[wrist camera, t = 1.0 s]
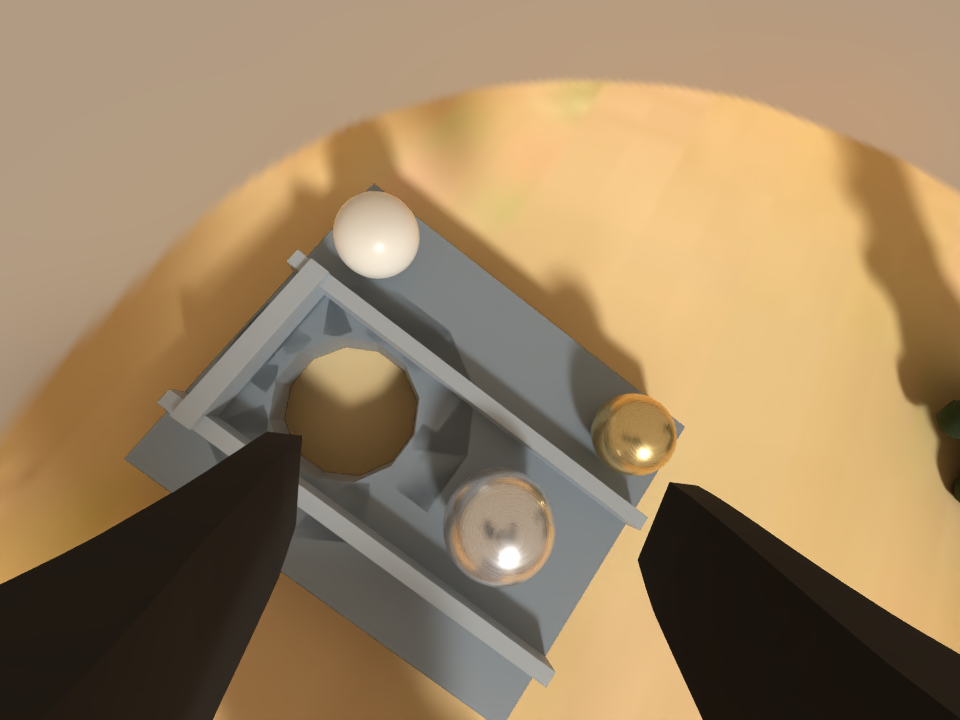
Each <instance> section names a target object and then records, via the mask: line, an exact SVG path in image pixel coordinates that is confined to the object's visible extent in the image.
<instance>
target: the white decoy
mask: <svg viewBox="0 0 960 720" xmlns="http://www.w3.org/2000/svg"><path fill="white" fill-rule="evenodd" d="M333 239H334V245H335V248H336V250H337V252H338V254H339V256H340V258H341V259H342V261H343V262H344V263H345V264H346V265H347V266H348V267H349V268H350V269H352V270H353V271H355V272H356V273H358V274H360V275H362V276H365V277H369V278H375V279H383V278H388V277H392V276H395V275H397V274H399V273H400V272H402V271H403V270H405V269H406V268H407V267H408V266H409V265H410V264H411V262H412V261H413V259H414V258H415V256H416V253H417V250H418V247H419V240H420V236H419V228H418V224H417V221H416V219H415V217H414V215H413V213H412V211H411V210H410V209H409V208H408V206H407V205H406V204H405V203H404V202H402V201H401V200H400V199H398V198H397V197H395V196H393V195H391V194H388V193H385V192H380V191H368V192H363V193H360V194H357V195H355V196H353V197H351V198H350V199H349V200H347V201H346V202H345V203H344V204H343V206H342V207H341V208H340V210H339V211H338V213H337V215H336V218H335V221H334V225H333Z"/></svg>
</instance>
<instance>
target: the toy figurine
mask: <svg viewBox="0 0 960 720" xmlns="http://www.w3.org/2000/svg"><path fill="white" fill-rule="evenodd" d="M936 417H937V421H938V425H939V428H940V429H941V430H942V431H943V432H944V433H945V434H947V435H948V436H949V437H950V438H954V439H960V401H958V400H953V401H952V402H951V403H950V404H948V405H947V406H946V407H944V408H943V409H942V410H940V411H939V412H938V413H937V414H936ZM954 488H955V499H956V500H957V501H959V502H960V478H959V479H957V480H956V482H955V487H954Z"/></svg>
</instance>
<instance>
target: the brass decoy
mask: <svg viewBox="0 0 960 720" xmlns="http://www.w3.org/2000/svg"><path fill="white" fill-rule="evenodd" d="M591 440H592V444H593V447H594V449H595V451H596V453H597V455H598V456H599V458H600V459H601V460H602V461H603V462H604V463H605V464H606V465H607V466H608V467H610V468H611V469H613V470H614V471H616V472H619V473H622V474H625V475H630V476H642V475H647V474H650V473H653V472H655V471H657V470H658V469H660V468H661V467H663V466H664V465H665V464H666V463H667V462H668V460H669V459H670V458H671V456H672V454H673V452H674V450H675V446H676V441H677V432H676V427H675V423H674V421H673V418H672V417H671V415H670V413H669V412H668V411H667V409H666V408H665V407H664V406H663V405H662V404H661V403H659V402H658V401H656V400H655V399H653V398H651V397H649V396H646V395H642V394H637V393H627V394H621V395H618V396H615V397H613V398H611V399H609V400H608V401H606V402H605V403H604V404H603V405H602V406H601V407H600V408H599V409H598V411H597V412H596V414H595V416H594V418H593V421H592V425H591Z"/></svg>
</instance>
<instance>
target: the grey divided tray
mask: <svg viewBox="0 0 960 720" xmlns="http://www.w3.org/2000/svg"><path fill="white" fill-rule="evenodd" d="M368 191H380V192H384V191H383V190H381V189H380V188H379V187H378V186H376V185H375V184H373V185H372V186H371V187H370V188H369V189H368V190H367V191H366V192H368ZM414 217H415V219H416V221H417V224H418V228H419V236H420V240H419V247H418V250H417V253H416V256H415V258H414V259H413V261H412V262H411V264H410V265H409V266H408V267H407V268H406V269H405V270H403V271H402V272H400V273H399V274H397V275H395V276H392V277H388V278H383V279H375V278H369V277H365V276H362V275H360V274H358V273H356V272H355V271H353V270H352V269H350V268H349V267H348V266H347V265H346V264H345V263H344V262H343V261H342V259H341V258H340V256H339V254H338V252H337V250H336V248H335V245H334V239H333V229H332V230H331V231H330V232H329V233H328V234H327V235H326V237H325V238H324V239H323V240H322V241H321V242H320V243H319V244H318V245H317V247H316V248H315V249H314V250H313V251H312V252H311V253H310V254H309V255H308V256H305V255H304V254H303V253H302V252H300V251H299V250H298V249H297V251H296V252H295V253H294V254H293V255H292V256H291V257H290V258H289V259H288V260H287V262H288V264H289V265H290V267H291V268H292V270H293V271H294V272H293V273H292V274H291V275H290V276H289V277H288V278H287V280H286V281H285V282H284V283H283V284H282V285H281V286H280V287H279V288H278V290H277V291H276V292H275V293H274V294H273V295H272V296H271V297H270V298H269V299H268V301H267V302H266V303H265V304H264V305H263V306H262V307H261V308H260V309H259V310H258V312H257V313H256V314H255V315H254V316H253V317H252V318H251V319H250V320H249V322H248V323H247V324H246V325H245V326H244V327H243V328H242V329H241V330H240V331H239V333H238V334H237V335H236V336H235V337H234V338H233V339H232V340H231V341H230V342H229V344H228V345H227V346H226V347H225V348H224V349H223V350H222V351H221V352H220V354H219V355H218V356H217V357H216V358H215V359H214V360H213V361H212V362H211V363H210V365H209V366H208V367H207V368H206V369H205V370H204V371H203V372H202V373H201V374H200V376H199V377H198V378H197V379H196V380H195V381H194V382H193V383H192V384H191V385H190V387H189V388H188V389H187V390H186V391H185V392H183V391H177V390H171V389H169V390H168V391H167V392H166V393H165V395H164V396H163V397H162V398H161V399H160V400H159V401H158V402H157V404H158V405H160V406H161V407H162V408H164V409H165V410H166V411H167V412H166V413H165V414H164V415H163V416H162V417H161V419H160V420H159V421H158V422H157V423H156V424H155V425H154V426H153V427H152V429H151V430H150V431H149V432H148V433H147V434H146V435H145V436H144V437H143V438H142V440H141V441H140V442H139V443H138V444H137V445H136V446H135V447H134V448H133V449H132V451H131V452H130V453H129V454H128V455H127V456H126V457H125V458H124V459H125V460H126V461H128V462H129V463H131V464H132V465H133V466H135V467H136V468H138V469H139V470H140V471H142V472H143V473H144V474H146V475H147V476H149V477H150V478H151V479H153V480H154V481H156V482H157V483H158V484H160V485H161V486H163V487H164V488H165V489H167V490H168V491H170V492H171V493H172V492H174V491H176V490H177V489H179V488H180V487H182V486H184V485H185V484H187V483H188V482H190V481H191V480H193V479H195V478H196V477H198V476H199V475H201V474H203V473H204V472H206V471H207V470H209V469H210V468H212V467H213V466H215V465H216V464H218V463H219V462H221V461H222V460H224V459H225V458H227V457H228V456H230V455H231V454H233V453H235V452H236V451H238V450H239V449H241V448H242V447H244V446H245V445H247V444H248V443H250V442H251V441H253V440H254V439H256V438H257V437H259V436H260V435H262V434H264V433H265V432H267V431H268V432H276V433H284V434H290V432H289V430H288V427H287V425H286V422H285V414H286V409H287V403H288V398H289V392H290V386H291V385H292V384H293V382H294V381H295V380H296V379H297V378H298V377H299V375H300V374H301V373H302V372H303V371H304V369H305V368H306V367H307V366H308V365H309V364H310V362H311V361H312V360H313V359H315V358H318V357H321V356H323V355H326V354H328V353H331V352H334V351H336V350H339V349H342V348H344V347H348V348H355V349H362V350H370V351H377V352H380V353H381V354H382V355H384V356H385V357H386V358H387V359H389V360H390V361H391V362H393V363H394V364H395V365H397V366H398V367H399V368H401V369H402V370H403V371H405V374H406V376H407V379H408V381H409V383H410V386H411V388H412V391H413V393H414V395H415V398H416V400H417V405H416V413H415V420H414V427H413V434H412V436H411V437H410V438H409V440H408V441H407V442H406V444H405V445H404V446H403V447H402V449H401V450H400V451H399V453H398V454H397V455H396V457H395V458H394V459H393V461H392V462H389V463H387V464H385V465H383V466H380V467H378V468H376V469H374V470H371V471H369V472H367V473H365V474H362V475H349V474H339V473H329V472H324V471H323V470H321V469H320V468H319V467H317V466H316V465H315V464H313V463H312V462H311V461H309V460H308V459H307V458H305V457H304V456H302V455H301V458H300V473H299V488H298V502H297V517H296V527H295V530H294V533H293V536H292V539H291V542H290V545H289V548H288V552H287V555H286V558H285V560H284V563H283V566H282V569H281V572H282V573H284V574H285V575H286V576H288V577H289V578H291V579H292V580H293V581H295V582H296V583H297V584H299V585H300V586H302V587H303V588H304V589H306V590H307V591H309V592H310V593H311V594H313V595H314V596H316V597H317V598H318V599H320V600H321V601H323V602H324V603H325V604H327V605H328V606H329V607H331V608H332V609H334V610H335V611H336V612H338V613H339V614H341V615H342V616H343V617H345V618H346V619H348V620H349V621H350V622H352V623H353V624H355V625H356V626H357V627H359V628H360V629H361V630H363V631H364V632H366V633H367V634H368V635H370V636H371V637H373V638H374V639H375V640H377V641H378V642H380V643H381V644H382V645H384V646H385V647H387V648H388V649H389V650H391V651H392V652H393V653H395V654H396V655H398V656H399V657H400V658H402V659H403V660H405V661H406V662H407V663H409V664H410V665H412V666H413V667H414V668H416V669H417V670H418V671H420V672H421V673H423V674H424V675H425V676H427V677H428V678H430V679H431V680H432V681H434V682H435V683H437V684H438V685H439V686H441V687H442V688H444V689H445V690H446V691H448V692H449V693H450V694H452V695H453V696H455V697H456V698H457V699H459V700H460V701H462V702H463V703H464V704H466V705H467V706H469V707H470V708H471V709H473V710H474V711H476V712H477V713H478V714H480V715H481V716H482V717H484V718H485V719H487V720H507V719H508V717H509V715H510V714H511V712H512V710H513V709H514V707H515V705H516V704H517V702H518V700H519V699H520V697H521V696H522V694H523V692H524V691H525V689H526V687H527V686H528V684H529V682H530V681H531V679H532V678H534V679H535V680H537V681H538V682H539V683H541V684H542V685H543V686H545V687H547V685H548V684H549V682H550V680H551V679H552V677H553V675H554V674H555V671H554V669H553V668H552V666H551V665H550V663H549V661H548V660H547V658H546V657H545V656H546V654H547V653H548V651H549V649H550V648H551V646H552V644H553V643H554V641H555V640H556V638H557V636H558V635H559V633H560V631H561V630H562V628H563V626H564V625H565V623H566V621H567V620H568V618H569V617H570V615H571V613H572V612H573V610H574V608H575V607H576V605H577V603H578V602H579V600H580V598H581V597H582V595H583V593H584V592H585V590H586V589H587V587H588V585H589V584H590V582H591V580H592V579H593V577H594V575H595V574H596V572H597V570H598V569H599V567H600V565H601V564H602V562H603V561H604V559H605V557H606V556H607V554H608V552H609V551H610V549H611V547H612V546H613V544H614V542H615V541H616V539H617V538H618V536H619V534H620V533H621V531H622V529H623V528H624V526H625V524H626V525H628V526H631V527H633V528H635V529H638V530H641V528H642V527H643V525H644V523H645V522H646V520H647V518H648V517H647V516H645V515H644V514H643V513H641V512H640V511H639V510H638V509H636V506H637V505H638V503H639V501H640V500H641V498H642V496H643V495H644V493H645V491H646V490H647V488H648V487H649V485H650V483H651V482H652V480H653V478H654V477H655V475H656V473H657V472H658V470H659V469H658V470H657V471H655V472H653V473H650V474H647V475H642V476H630V475H625V474H622V473H619V472H616V471H614V470H613V469H611V468H610V467H608V466H607V465H606V464H605V463H604V462H603V461H602V460H601V459H600V458H599V456H598V455H597V453H596V451H595V449H594V447H593V444H592V440H591V425H592V421H593V418H594V416H595V414H596V412H597V411H598V409H599V408H600V407H601V406H602V405H603V404H604V403H605V402H606V401H608V400H609V399H611V398H613V397H615V396H618V395H621V394H627V393H637V394H642V393H641V392H640V391H638V390H637V389H636V388H635V387H633V386H632V385H631V384H630V383H628V382H627V381H626V380H624V379H623V378H622V377H621V376H619V375H618V374H617V373H615V372H614V371H613V370H612V369H610V368H609V367H608V366H606V365H605V364H604V363H603V362H601V361H600V360H599V359H598V358H596V357H595V356H594V355H592V354H591V353H590V352H589V351H587V350H586V349H585V348H583V347H582V346H581V345H580V344H578V343H577V342H576V341H575V340H573V339H572V338H571V337H569V336H568V335H567V334H566V333H564V332H563V331H562V330H560V329H559V328H558V327H557V326H555V325H554V324H553V323H552V322H550V321H549V320H548V319H546V318H545V317H544V316H543V315H541V314H540V313H539V312H537V311H536V310H535V309H534V308H532V307H531V306H530V305H529V304H527V303H526V302H525V301H523V300H522V299H521V298H520V297H518V296H517V295H516V294H514V293H513V292H512V291H511V290H509V289H508V288H507V287H505V286H504V285H503V284H502V283H500V282H499V281H498V280H497V279H495V278H494V277H493V276H491V275H490V274H489V273H488V272H486V271H485V270H484V269H482V268H481V267H480V266H479V265H477V264H476V263H475V262H474V261H472V260H471V259H470V258H468V257H467V256H466V255H465V254H463V253H462V252H461V251H459V250H458V249H457V248H456V247H454V246H453V245H452V244H451V243H449V242H448V241H447V240H445V239H444V238H443V237H442V236H440V235H439V234H438V233H436V232H435V231H434V230H433V229H431V228H430V227H429V226H428V225H426V224H425V223H424V222H422V221H421V220H420V219H419V218H417V217H416V216H415V215H414ZM642 395H644V394H642ZM671 417H672V416H671ZM672 418H673V417H672ZM673 421H674V423H675V427H676V432H677V439H678V437H679V435H680V434H681V432H682V431H683V429H684V426H683V425H682V424H681V423H679V422H678V421H677V420H676V419H674V418H673ZM495 467H502V468H510V469H514V470H517V471H520V472H522V473H524V474H526V475H527V476H529V477H530V478H532V479H533V480H534V481H535V482H537V483H538V484H539V485H540V487H541V488H542V489H543V490H544V492H545V493H546V495H547V496H548V498H549V500H550V502H551V504H552V507H553V510H554V514H555V519H556V537H555V543H554V546H553V549H552V552H551V554H550V556H549V558H548V560H547V562H546V563H545V565H544V566H543V567H542V568H541V569H540V571H539V572H538V573H536V574H535V575H534V576H533V577H532V578H530V579H528V580H527V581H525V582H523V583H521V584H518V585H515V586H510V587H490V586H486V585H482V584H480V583H478V582H476V581H474V580H472V579H470V578H469V577H467V576H466V575H465V574H464V573H463V572H461V570H460V569H459V568H458V567H457V566H456V565H455V563H454V562H453V560H452V559H451V557H450V555H449V553H448V551H447V548H446V545H445V541H444V536H443V517H444V512H445V508H446V505H447V503H448V501H449V498H450V496H451V495H452V493H453V492H454V490H455V489H456V488H457V486H458V485H459V484H460V483H461V482H462V481H463V480H465V479H466V478H467V477H469V476H470V475H472V474H474V473H476V472H478V471H481V470H483V469H488V468H495Z"/></svg>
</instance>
